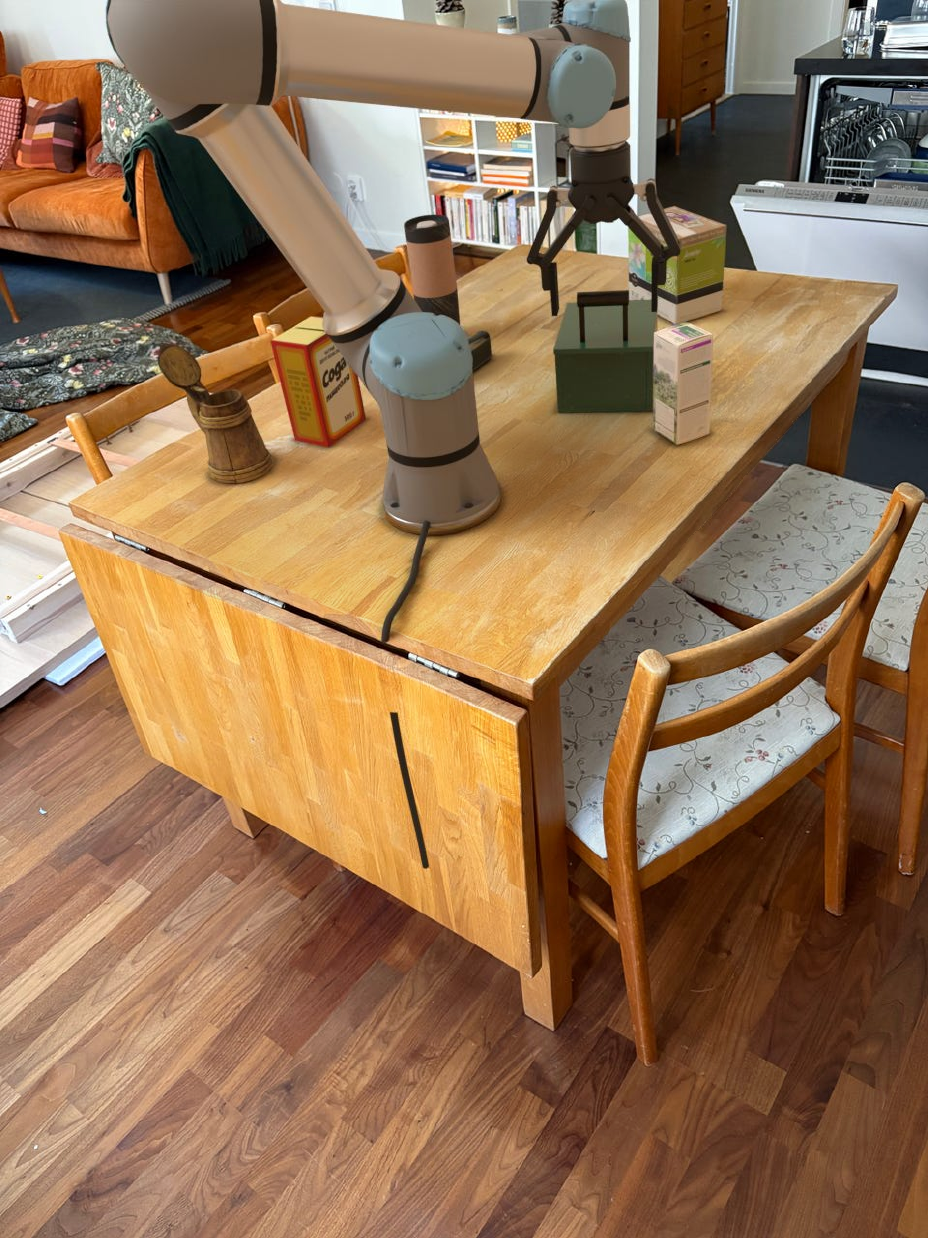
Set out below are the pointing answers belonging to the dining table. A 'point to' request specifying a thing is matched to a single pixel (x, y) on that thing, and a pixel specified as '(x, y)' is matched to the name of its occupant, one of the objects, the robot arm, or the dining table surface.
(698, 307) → the tea box
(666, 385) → the syrup box
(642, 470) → the dining table surface
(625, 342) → the lid
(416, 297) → the travel mug
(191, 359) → the wooden mug
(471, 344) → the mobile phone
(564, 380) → the tin
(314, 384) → the baking soda box
